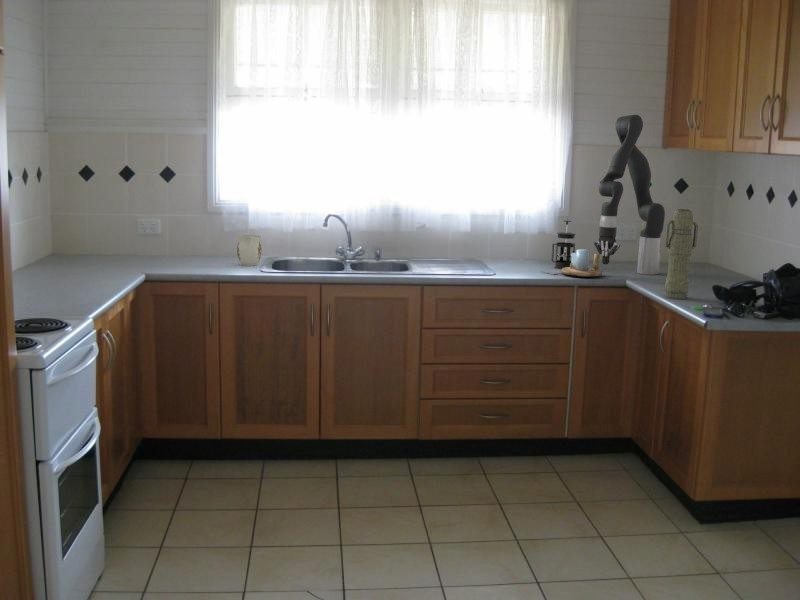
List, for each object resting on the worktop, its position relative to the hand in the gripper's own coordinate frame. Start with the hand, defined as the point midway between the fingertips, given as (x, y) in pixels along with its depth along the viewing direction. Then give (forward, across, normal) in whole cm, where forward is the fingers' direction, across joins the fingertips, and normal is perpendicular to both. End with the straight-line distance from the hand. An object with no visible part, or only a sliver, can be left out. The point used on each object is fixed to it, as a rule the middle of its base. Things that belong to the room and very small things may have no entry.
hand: (605, 264), depth 394 cm
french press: (+6, +28, -6) cm, 29 cm away
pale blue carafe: (+3, +10, +5) cm, 12 cm away
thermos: (+6, -48, +18) cm, 52 cm away
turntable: (+5, +9, +6) cm, 11 cm away
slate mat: (+6, +20, +10) cm, 23 cm away
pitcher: (+6, +110, +119) cm, 162 cm away
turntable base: (+6, +9, +6) cm, 12 cm away
